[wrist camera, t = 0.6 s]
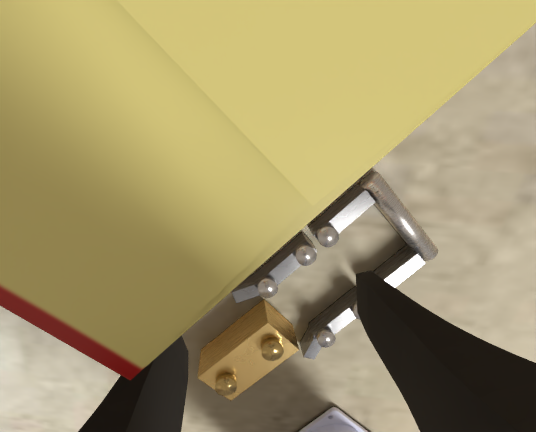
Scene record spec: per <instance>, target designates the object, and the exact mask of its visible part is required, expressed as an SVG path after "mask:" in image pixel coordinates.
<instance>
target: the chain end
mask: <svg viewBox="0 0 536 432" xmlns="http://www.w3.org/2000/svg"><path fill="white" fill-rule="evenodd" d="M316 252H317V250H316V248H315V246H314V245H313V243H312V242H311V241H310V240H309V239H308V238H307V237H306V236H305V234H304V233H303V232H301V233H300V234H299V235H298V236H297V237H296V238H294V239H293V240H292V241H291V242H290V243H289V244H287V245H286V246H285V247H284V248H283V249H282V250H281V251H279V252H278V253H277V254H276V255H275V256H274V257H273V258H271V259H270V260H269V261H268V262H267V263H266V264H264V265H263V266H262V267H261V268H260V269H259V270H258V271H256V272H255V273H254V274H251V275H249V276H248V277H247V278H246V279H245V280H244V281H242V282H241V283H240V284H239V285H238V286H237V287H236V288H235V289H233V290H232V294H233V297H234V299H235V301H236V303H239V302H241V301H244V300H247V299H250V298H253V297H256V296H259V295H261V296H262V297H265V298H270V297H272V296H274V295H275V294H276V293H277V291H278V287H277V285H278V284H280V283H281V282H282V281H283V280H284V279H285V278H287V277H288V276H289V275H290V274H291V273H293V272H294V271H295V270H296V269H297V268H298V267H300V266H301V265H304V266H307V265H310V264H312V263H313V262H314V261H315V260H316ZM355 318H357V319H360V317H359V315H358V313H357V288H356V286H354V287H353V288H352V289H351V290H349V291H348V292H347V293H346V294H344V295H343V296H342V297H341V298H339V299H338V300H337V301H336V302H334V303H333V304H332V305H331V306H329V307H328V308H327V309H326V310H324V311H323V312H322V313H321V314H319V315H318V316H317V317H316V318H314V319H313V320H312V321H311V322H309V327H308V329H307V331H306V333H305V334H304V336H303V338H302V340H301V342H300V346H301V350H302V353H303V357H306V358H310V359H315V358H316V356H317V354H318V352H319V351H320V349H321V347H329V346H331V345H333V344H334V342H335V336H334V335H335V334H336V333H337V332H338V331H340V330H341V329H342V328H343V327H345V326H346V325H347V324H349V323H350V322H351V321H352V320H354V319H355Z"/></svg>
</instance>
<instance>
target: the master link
mask: <svg viewBox="0 0 536 432" xmlns="http://www.w3.org/2000/svg"><path fill="white" fill-rule="evenodd" d="M298 350H299V347H298V344H297V340H296V336H295V333H294V329H293V325H292V324H291V323H290V322H289V321H288V320H287V319H286V318H285V317H283V316H282V315H281V314H280V313H279V312H278V311H277V310H276V309H275V308H273V307H272V306H271V305H270V304H269V303H268V302H267V301H266V300H264V299H263V300H262V301H261V302H260V303H258V304H257V305H256V306H255V307H253V308H252V309H251V310H250V311H249V312H247V313H246V314H245V315H244V316H242V317H241V318H240V319H239V320H237V321H236V322H235V323H234V324H232V325H231V326H230V327H229V328H227V329H226V330H225V331H224V332H222V333H221V334H220V335H219V336H217V337H216V338H215V339H214V340H212V341H211V342H210V343H209V344H207V345H206V346H205V347H204V348H202V349H201V353H200V362H199V370H198V379H200V380H201V381H203V382H204V383H205V384H207V385H208V386H210V387H211V388H213V389H214V390H215V391H216V392H217V393H218V394H219V395H222V396H224V397H226V398H227V399H229V400H230V401H231V400H233V399H234V398H235V397H237V396H238V395H239V394H241V393H242V392H243V391H245V390H246V389H247V388H249V387H250V386H251V385H253V384H254V383H255V382H257V381H258V380H259V379H261V378H262V377H263V376H265V375H266V374H267V373H269V372H270V371H272V370H273V369H274V368H276V367H277V366H278V365H280V364H281V363H282V362H284V361H285V360H286V359H288V358H289V357H290V356H292V355H293V354H294V353H296V352H297V351H298Z"/></svg>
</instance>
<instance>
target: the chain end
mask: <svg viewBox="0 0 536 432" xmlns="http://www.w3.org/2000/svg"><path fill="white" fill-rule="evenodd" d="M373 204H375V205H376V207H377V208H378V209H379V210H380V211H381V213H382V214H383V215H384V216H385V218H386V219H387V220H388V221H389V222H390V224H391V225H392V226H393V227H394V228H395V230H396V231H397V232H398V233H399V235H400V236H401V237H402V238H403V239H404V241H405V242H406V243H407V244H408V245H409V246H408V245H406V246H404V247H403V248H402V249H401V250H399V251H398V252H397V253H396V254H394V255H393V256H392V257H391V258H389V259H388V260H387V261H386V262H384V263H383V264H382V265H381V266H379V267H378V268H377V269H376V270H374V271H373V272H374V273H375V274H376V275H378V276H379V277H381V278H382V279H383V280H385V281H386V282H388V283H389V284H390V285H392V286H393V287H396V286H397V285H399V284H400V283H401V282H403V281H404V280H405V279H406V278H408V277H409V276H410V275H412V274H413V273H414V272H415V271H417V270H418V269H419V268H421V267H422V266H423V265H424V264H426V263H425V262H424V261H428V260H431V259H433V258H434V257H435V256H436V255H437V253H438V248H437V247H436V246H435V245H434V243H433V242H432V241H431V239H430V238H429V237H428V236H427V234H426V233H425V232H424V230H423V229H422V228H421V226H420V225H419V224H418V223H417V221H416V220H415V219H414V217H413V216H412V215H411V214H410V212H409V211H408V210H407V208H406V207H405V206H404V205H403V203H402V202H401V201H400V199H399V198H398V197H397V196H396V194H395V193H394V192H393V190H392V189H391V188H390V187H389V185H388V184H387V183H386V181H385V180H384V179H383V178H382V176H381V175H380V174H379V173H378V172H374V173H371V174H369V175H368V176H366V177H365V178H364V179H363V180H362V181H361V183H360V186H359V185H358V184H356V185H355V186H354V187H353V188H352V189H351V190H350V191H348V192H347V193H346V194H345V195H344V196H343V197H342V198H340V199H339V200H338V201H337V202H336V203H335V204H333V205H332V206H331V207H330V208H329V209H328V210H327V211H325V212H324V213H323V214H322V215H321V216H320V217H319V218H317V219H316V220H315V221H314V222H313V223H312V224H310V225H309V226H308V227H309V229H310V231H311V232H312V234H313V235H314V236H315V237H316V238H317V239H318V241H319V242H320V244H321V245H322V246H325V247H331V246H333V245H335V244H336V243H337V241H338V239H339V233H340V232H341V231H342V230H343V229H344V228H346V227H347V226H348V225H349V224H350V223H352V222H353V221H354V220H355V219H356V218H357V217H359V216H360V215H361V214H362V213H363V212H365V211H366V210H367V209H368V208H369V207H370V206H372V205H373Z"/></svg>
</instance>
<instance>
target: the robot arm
mask: <svg viewBox="0 0 536 432" xmlns="http://www.w3.org/2000/svg"><path fill="white" fill-rule="evenodd" d="M356 288H357V313H358V315H359V317H360V320H361V322H362V324H363V326H364V329H365V331H366V333H367V335H368V337H369V339H370V341H371V342H372V344H373V346H374V348H375V349H376V351H377V353H378V354H379V356H380V358H381V359H382V361H383V363H384V364H385V366H386V368H387V370H388V371H389V373H390V375H391V376H392V378H393V380H394V381H395V383H396V385H397V386H398V388H399V390H400V392H401V393H402V395H403V397H404V399H405V401H406V403H407V405H408V407H409V409H410V411H411V413H412V415H413V417H414V419H415V421H416V423H417V425H418V428H419V430H420V432H536V363H534V362H532V361H529V360H527V359H524V358H522V357H520V356H517V355H515V354H512V353H510V352H508V351H506V350H503V349H501V348H499V347H497V346H494V345H492V344H490V343H488V342H486V341H484V340H482V339H479V338H477V337H475V336H473V335H472V334H470V333H468V332H466V331H464V330H462V329H460V328H458V327H456V326H454V325H452V324H451V323H449V322H447V321H445V320H444V319H442V318H440V317H439V316H437V315H435V314H434V313H432V312H430V311H429V310H427V309H426V308H424V307H422V306H421V305H419V304H418V303H416V302H415V301H413V300H412V299H410V298H409V297H407V296H406V295H404V294H403V293H402V292H400V291H399V290H397V289H396V288H395V287H393V286H392V285H390V284H389V283H388V282H386V281H385V280H383V279H382V278H381V277H379V276H378V275H376V274H375V273H374V272H372V271H367V272H363V273H358V274H356ZM187 382H188V350H187V348H186V345H185V343H184V340H183V338H182V336H180V337H179V338H178V339H177V340H176V341H174V342H173V343H172V344H171V345H170V346H169V347H168V348H167V349H165V350H164V351H163V352H162V353H161V354H160V355H159V356H157V357H156V358H155V359H154V360H153V361H152V362H151V363H150V364H148V365H147V366H146V367H145V368H144V369H143V370H142V371H140V372H139V373H138V374H137V375H136V376H135V377H134V378H133V379H131V380H129V379H127V378H125V377H123V376H122V375H121V376H120V377H119V379H118V380H117V382H116V383H115V384H114V386H113V387H112V389H111V390H110V391H109V393H108V394H107V396H106V397H105V398H104V400H103V401H102V403H101V404H100V405H99V406H98V408H97V409H96V410H95V412H94V413H93V414H92V416H91V417H90V418H89V419H88V420H87V422H86V423H85V424H84V425H83V427H82V428H81V429H80V430H79V431H78V432H181V427H182V420H183V412H184V405H185V398H186V390H187ZM299 432H368V431H367V430H366V429H364V428H363V427H362V426H360V425H359V424H358V423H356V422H355V421H354V420H352V419H351V418H350V417H348V416H347V415H346V414H345V413H343V412H342V411H341V410H339V409H338V408H336V407H332V408H330V409H329V410H327V411H326V412H325V413H323V414H322V415H321V416H319V417H318V418H316V419H315V420H314V421H312V422H311V423H310V424H308V425H307V426H305V427H304V428H303V429H301V430H300V431H299Z"/></svg>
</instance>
